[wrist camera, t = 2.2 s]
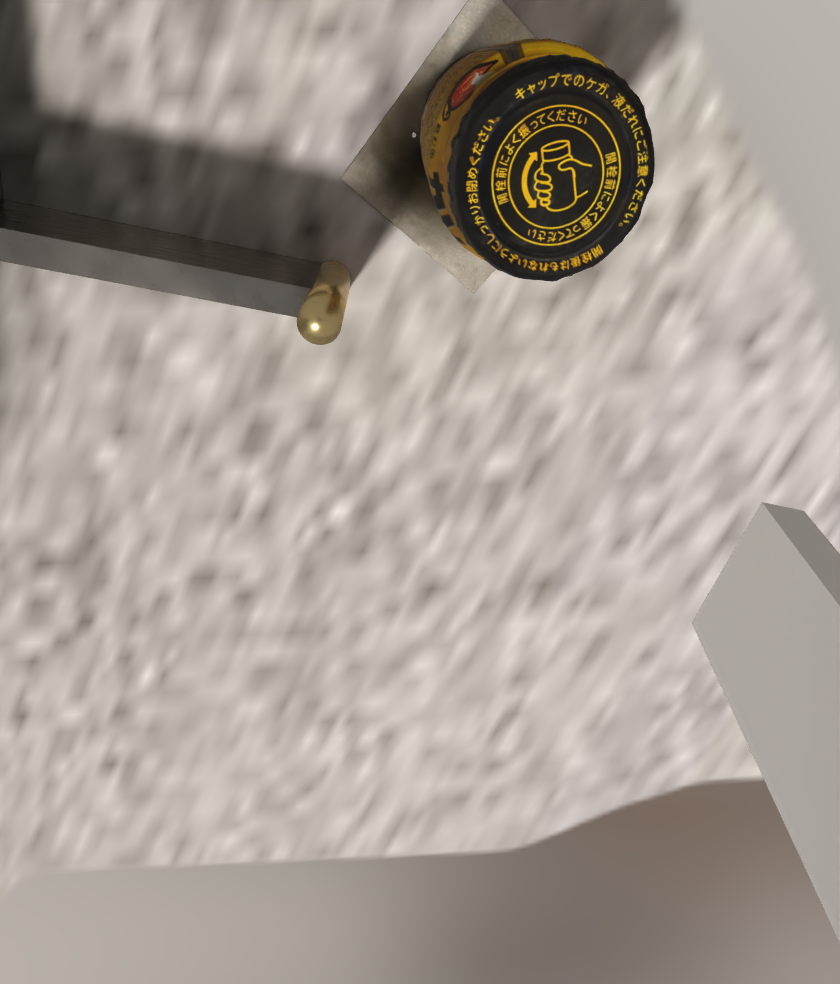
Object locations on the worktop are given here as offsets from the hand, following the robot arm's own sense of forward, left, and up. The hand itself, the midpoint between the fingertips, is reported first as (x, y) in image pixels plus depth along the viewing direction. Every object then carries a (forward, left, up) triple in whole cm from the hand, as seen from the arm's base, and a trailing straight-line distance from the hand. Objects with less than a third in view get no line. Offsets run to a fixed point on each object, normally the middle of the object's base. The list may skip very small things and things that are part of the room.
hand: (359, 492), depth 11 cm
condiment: (+3, +4, -21) cm, 22 cm away
